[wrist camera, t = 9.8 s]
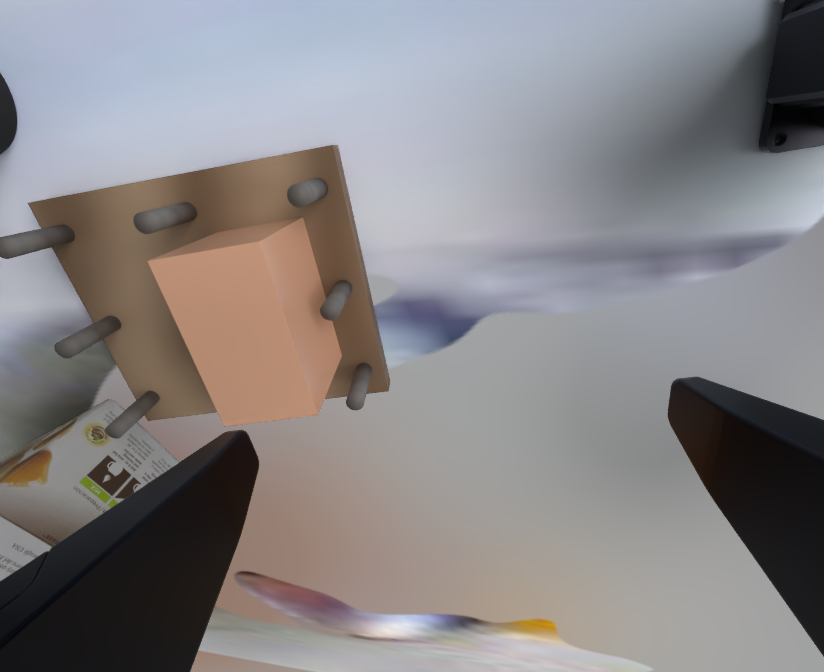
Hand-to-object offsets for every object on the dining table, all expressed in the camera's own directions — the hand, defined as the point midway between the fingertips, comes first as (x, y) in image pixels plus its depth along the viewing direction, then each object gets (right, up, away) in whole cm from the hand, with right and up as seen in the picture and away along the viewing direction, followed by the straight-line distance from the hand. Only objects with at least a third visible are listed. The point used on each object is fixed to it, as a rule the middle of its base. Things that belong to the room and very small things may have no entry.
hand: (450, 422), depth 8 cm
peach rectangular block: (-7, +4, +11) cm, 13 cm away
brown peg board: (-10, +4, +12) cm, 16 cm away
